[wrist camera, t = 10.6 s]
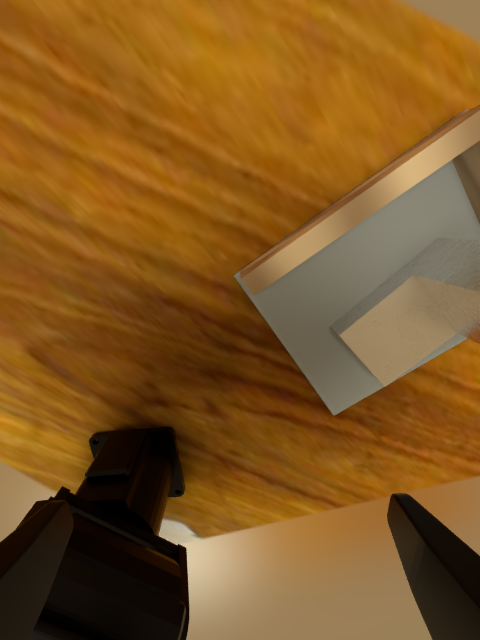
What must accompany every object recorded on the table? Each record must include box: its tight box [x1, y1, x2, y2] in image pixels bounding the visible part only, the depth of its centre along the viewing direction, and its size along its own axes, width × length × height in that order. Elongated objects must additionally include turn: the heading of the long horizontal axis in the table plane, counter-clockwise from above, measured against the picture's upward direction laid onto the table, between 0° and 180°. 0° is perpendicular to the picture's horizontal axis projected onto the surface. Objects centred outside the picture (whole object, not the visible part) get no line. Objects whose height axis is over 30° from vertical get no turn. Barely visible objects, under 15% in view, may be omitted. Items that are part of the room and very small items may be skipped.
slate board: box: [234, 110, 480, 416], centre depth 19 cm, size 16×13×1 cm
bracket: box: [330, 238, 480, 387], centre depth 14 cm, size 8×5×11 cm, turn 133°
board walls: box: [240, 105, 480, 296], centre depth 18 cm, size 15×10×4 cm, turn 125°
